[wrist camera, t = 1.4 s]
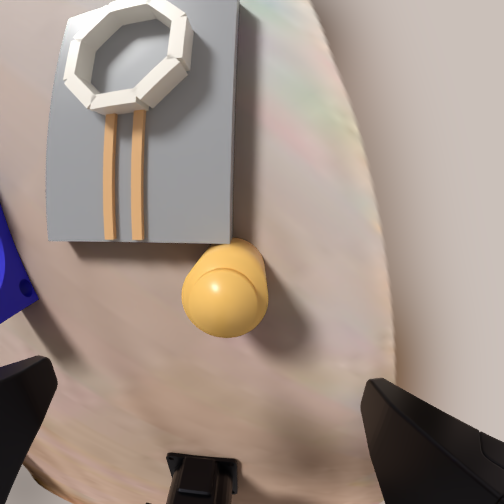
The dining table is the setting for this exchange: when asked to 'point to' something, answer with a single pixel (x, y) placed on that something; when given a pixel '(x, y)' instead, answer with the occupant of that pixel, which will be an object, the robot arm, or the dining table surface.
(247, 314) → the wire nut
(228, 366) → the dining table surface
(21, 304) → the cable clip
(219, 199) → the plate
